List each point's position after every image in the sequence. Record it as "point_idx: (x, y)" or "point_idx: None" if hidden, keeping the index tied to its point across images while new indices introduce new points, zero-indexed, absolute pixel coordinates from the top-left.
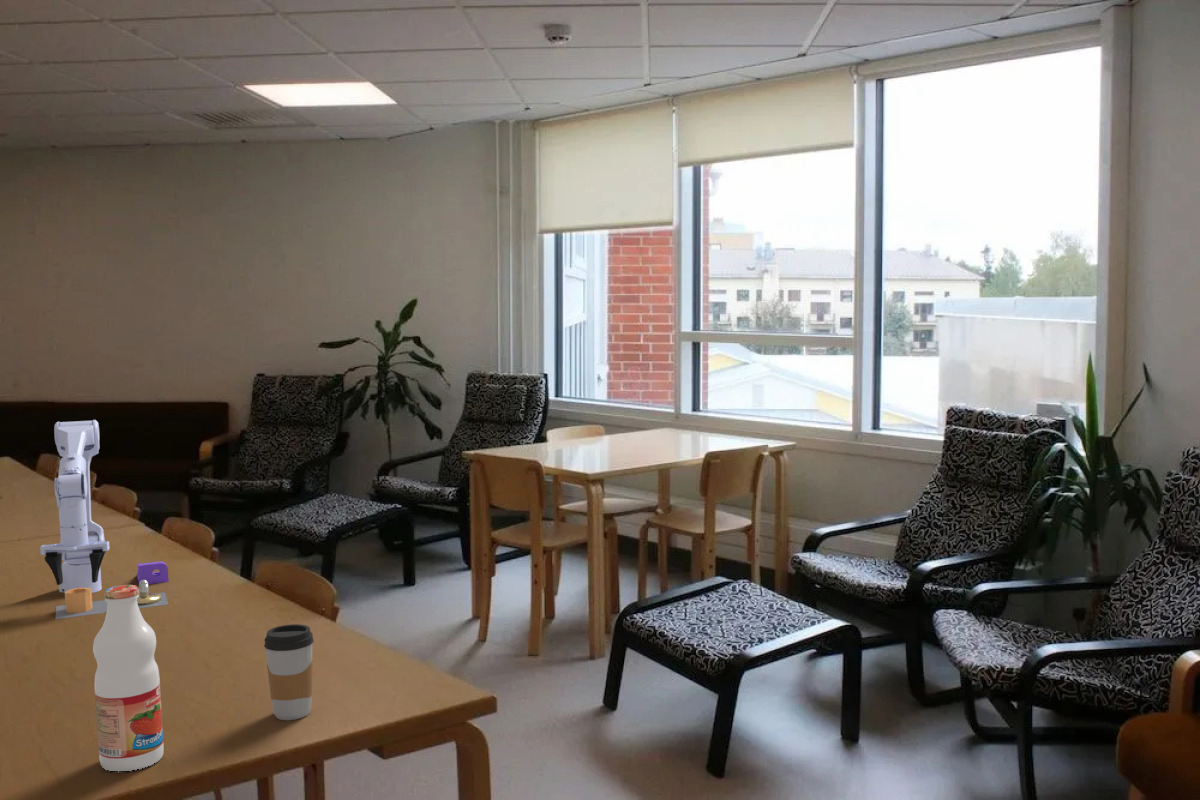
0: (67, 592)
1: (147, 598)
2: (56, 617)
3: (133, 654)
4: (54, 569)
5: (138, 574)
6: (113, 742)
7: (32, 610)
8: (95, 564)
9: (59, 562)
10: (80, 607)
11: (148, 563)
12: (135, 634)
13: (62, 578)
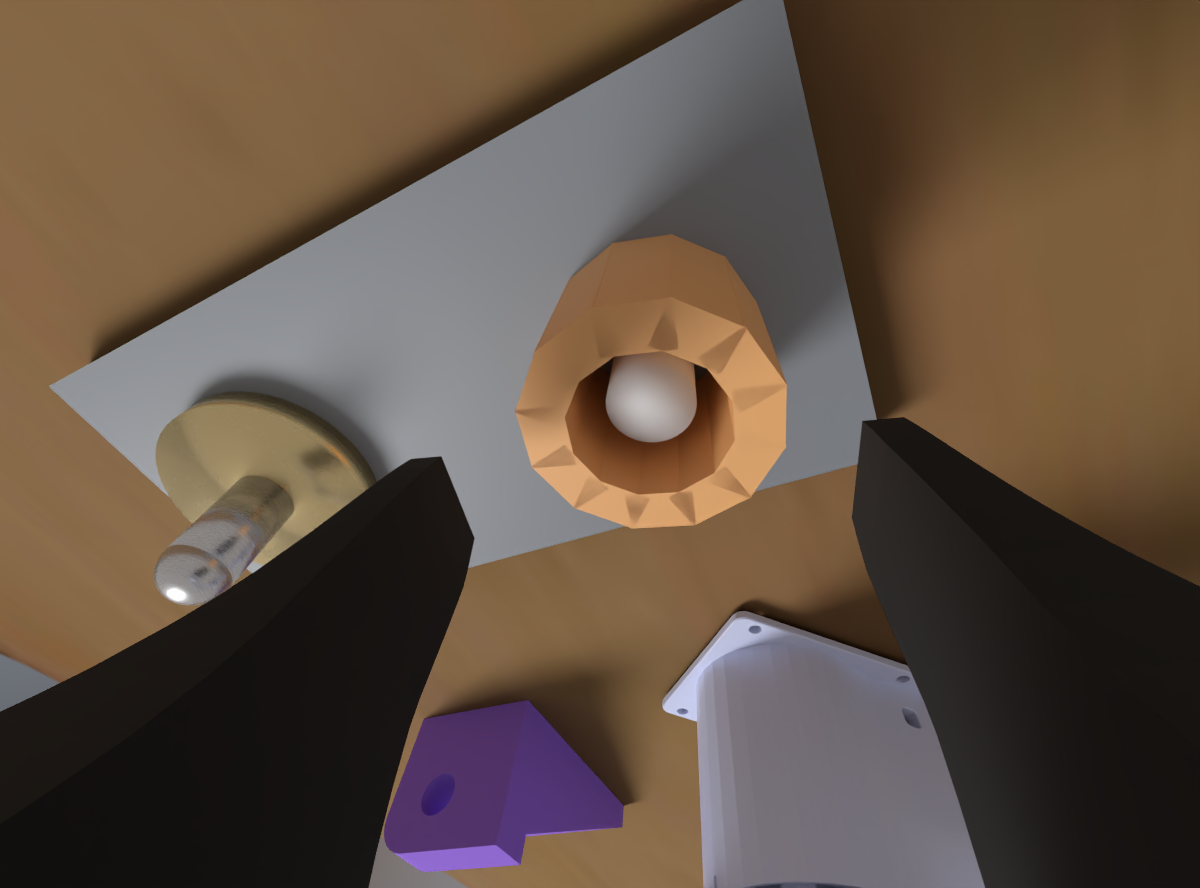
0: (750, 376)
1: (213, 463)
2: (786, 71)
3: None
4: (1088, 578)
5: (533, 799)
6: None
7: (1066, 497)
8: (164, 642)
9: (1026, 825)
10: (598, 266)
11: (466, 862)
12: None
13: (868, 561)
